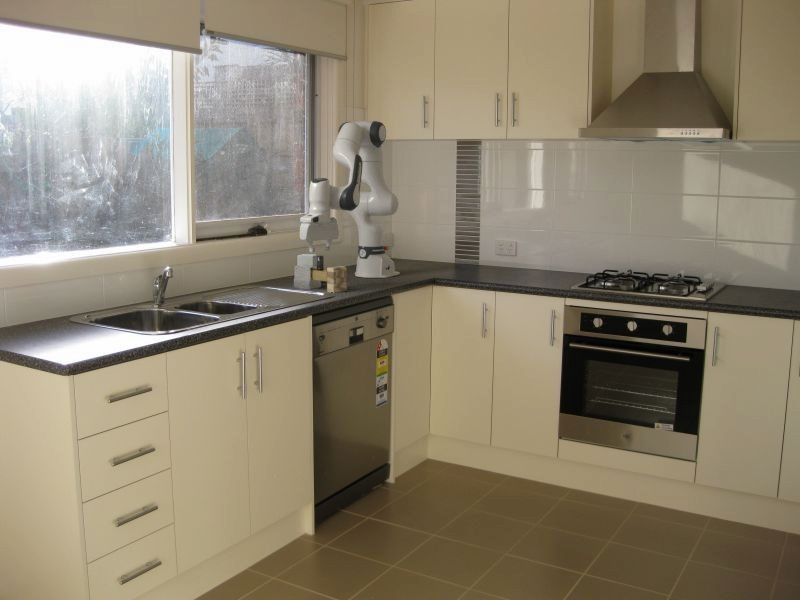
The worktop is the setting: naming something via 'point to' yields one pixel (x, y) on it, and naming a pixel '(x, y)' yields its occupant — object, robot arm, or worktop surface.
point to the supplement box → (307, 259)
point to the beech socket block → (337, 279)
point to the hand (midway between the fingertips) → (319, 251)
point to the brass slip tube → (319, 270)
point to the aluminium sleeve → (305, 277)
